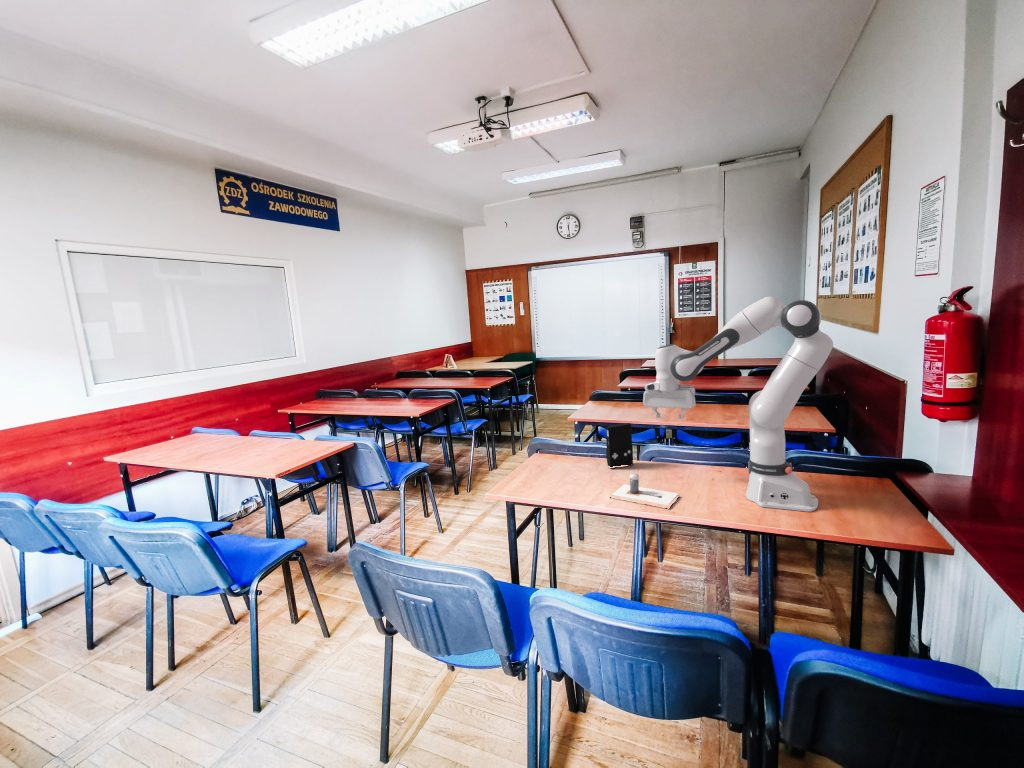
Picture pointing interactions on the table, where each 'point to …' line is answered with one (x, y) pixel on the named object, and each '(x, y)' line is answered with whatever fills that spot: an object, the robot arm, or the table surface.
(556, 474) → the table surface
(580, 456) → the table surface
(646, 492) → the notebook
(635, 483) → the white-topped grey cylinder
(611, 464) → the handheld gaming console
